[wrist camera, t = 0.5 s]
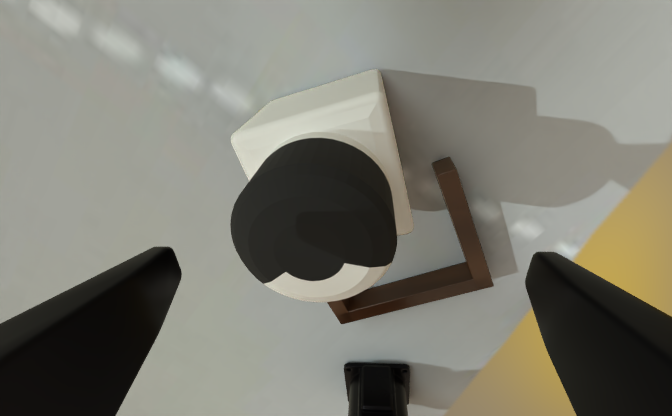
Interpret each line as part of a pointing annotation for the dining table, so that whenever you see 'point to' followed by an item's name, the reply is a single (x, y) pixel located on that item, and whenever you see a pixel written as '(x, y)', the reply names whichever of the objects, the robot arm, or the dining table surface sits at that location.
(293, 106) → the medicine bottle
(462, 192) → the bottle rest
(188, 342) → the dining table surface
